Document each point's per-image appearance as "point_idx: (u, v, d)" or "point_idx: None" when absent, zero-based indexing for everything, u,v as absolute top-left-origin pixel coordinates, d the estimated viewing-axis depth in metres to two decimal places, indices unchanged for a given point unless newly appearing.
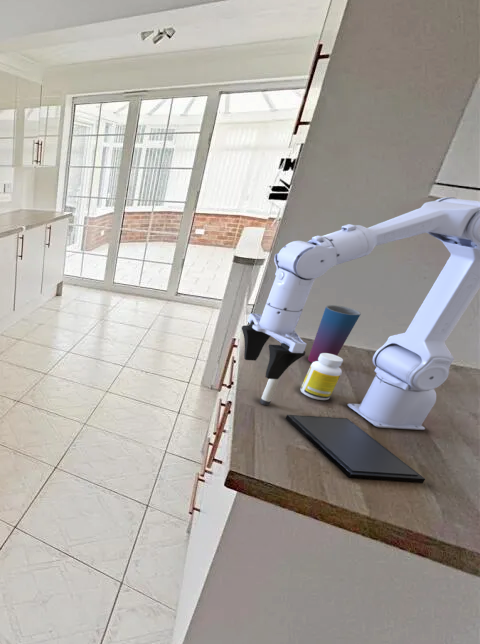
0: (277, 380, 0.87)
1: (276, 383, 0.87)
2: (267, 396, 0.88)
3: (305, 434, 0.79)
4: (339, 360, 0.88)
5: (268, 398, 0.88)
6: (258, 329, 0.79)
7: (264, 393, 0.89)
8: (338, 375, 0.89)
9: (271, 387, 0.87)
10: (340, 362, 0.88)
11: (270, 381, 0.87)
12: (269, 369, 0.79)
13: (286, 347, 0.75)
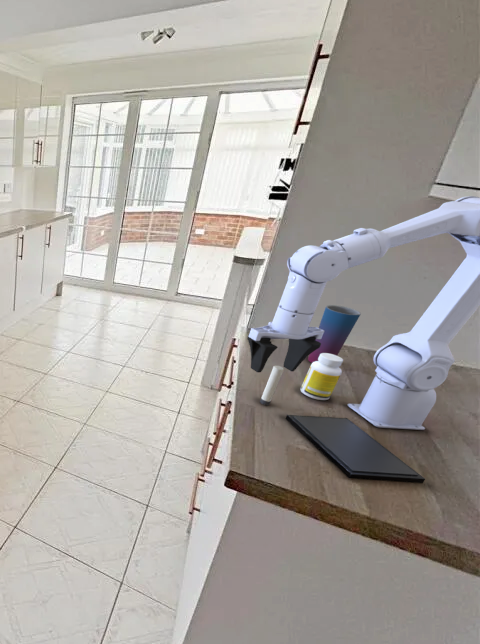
0: (277, 380, 0.87)
1: (276, 383, 0.87)
2: (267, 396, 0.88)
3: (305, 434, 0.79)
4: (339, 360, 0.88)
5: (268, 398, 0.88)
6: None
7: (264, 393, 0.89)
8: (338, 375, 0.89)
9: (271, 387, 0.87)
10: (340, 362, 0.88)
11: (270, 381, 0.87)
12: None
13: None
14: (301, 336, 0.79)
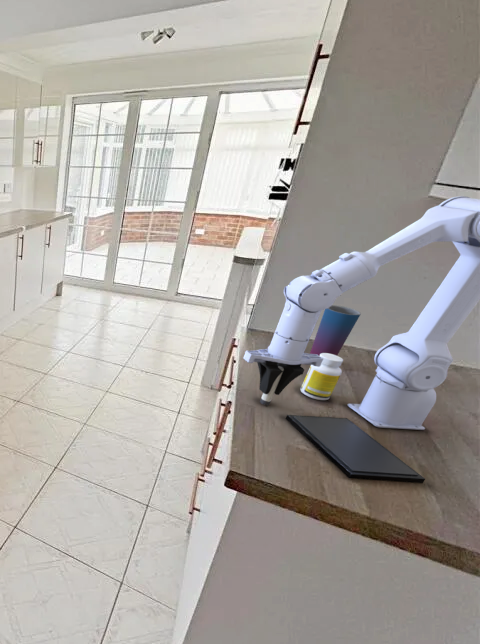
0: (277, 380, 0.87)
1: (276, 383, 0.87)
2: (267, 396, 0.88)
3: (305, 434, 0.79)
4: (339, 360, 0.88)
5: (268, 398, 0.88)
6: (268, 347, 0.88)
7: None
8: (338, 375, 0.89)
9: None
10: (340, 362, 0.88)
11: None
12: None
13: None
14: (294, 362, 0.82)
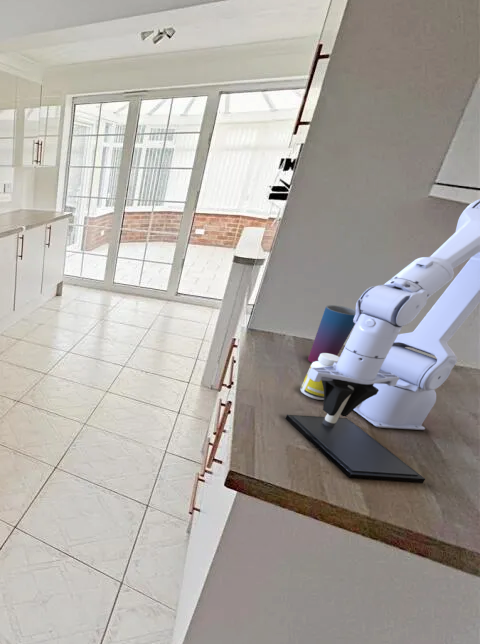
0: (345, 400, 0.78)
1: (343, 404, 0.78)
2: (332, 417, 0.80)
3: (305, 434, 0.79)
4: None
5: (333, 420, 0.80)
6: None
7: None
8: None
9: None
10: None
11: None
12: None
13: None
14: (368, 381, 0.74)
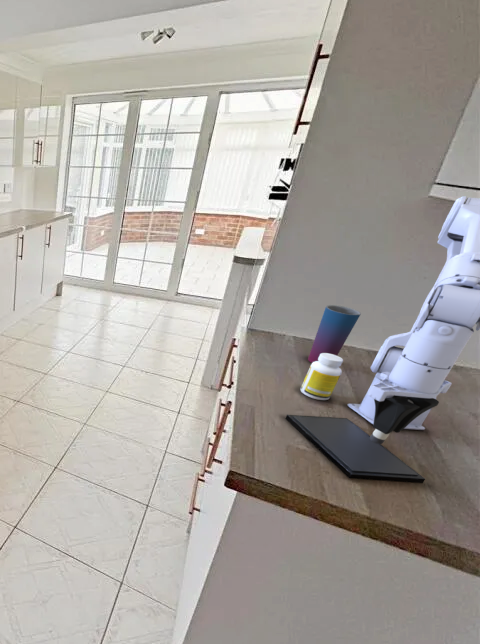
0: None
1: None
2: (384, 434, 0.70)
3: (305, 434, 0.79)
4: (339, 360, 0.88)
5: (385, 436, 0.70)
6: (381, 374, 0.70)
7: None
8: (338, 375, 0.89)
9: None
10: (340, 362, 0.88)
11: None
12: None
13: None
14: (435, 394, 0.64)
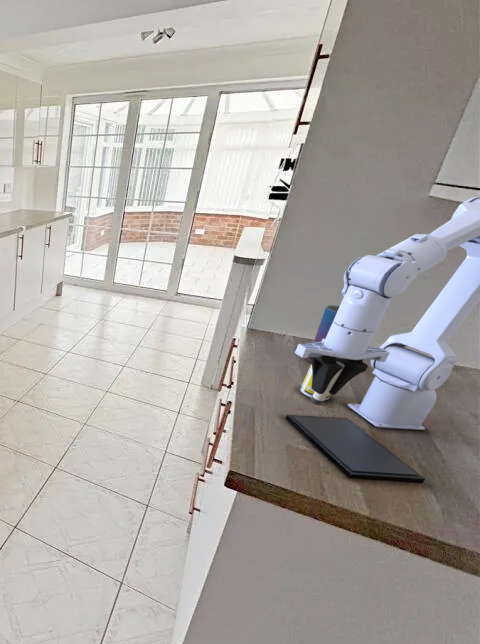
0: (335, 378, 0.75)
1: (333, 381, 0.75)
2: (320, 395, 0.77)
3: (305, 434, 0.79)
4: None
5: (321, 397, 0.77)
6: (322, 340, 0.77)
7: None
8: None
9: None
10: None
11: None
12: None
13: None
14: (358, 356, 0.71)
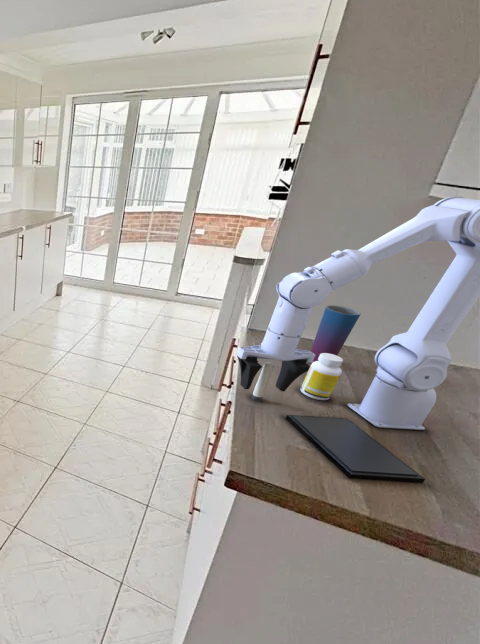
0: (268, 376, 0.88)
1: (266, 379, 0.88)
2: (258, 391, 0.90)
3: (305, 434, 0.79)
4: (339, 360, 0.88)
5: (259, 394, 0.90)
6: (261, 343, 0.89)
7: (255, 389, 0.90)
8: (338, 375, 0.89)
9: (262, 383, 0.89)
10: (340, 362, 0.88)
11: (261, 377, 0.89)
12: None
13: None
14: (286, 358, 0.83)
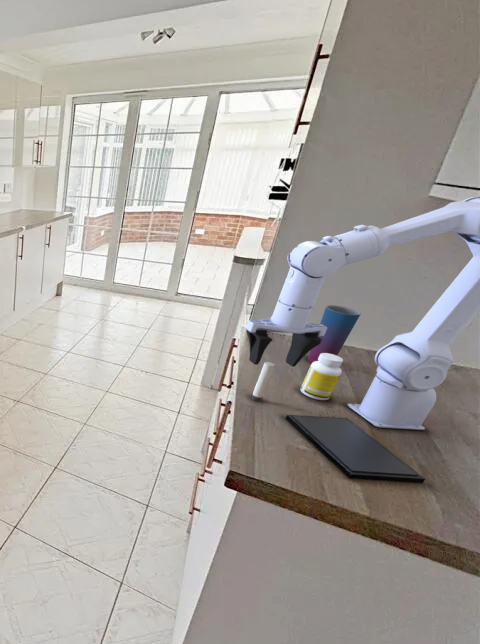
0: (268, 376, 0.88)
1: (266, 379, 0.88)
2: (258, 392, 0.90)
3: (305, 434, 0.79)
4: (339, 360, 0.88)
5: (259, 394, 0.90)
6: None
7: (255, 389, 0.90)
8: (338, 375, 0.89)
9: (262, 383, 0.89)
10: (340, 362, 0.88)
11: (261, 377, 0.89)
12: None
13: None
14: (298, 330, 0.80)
